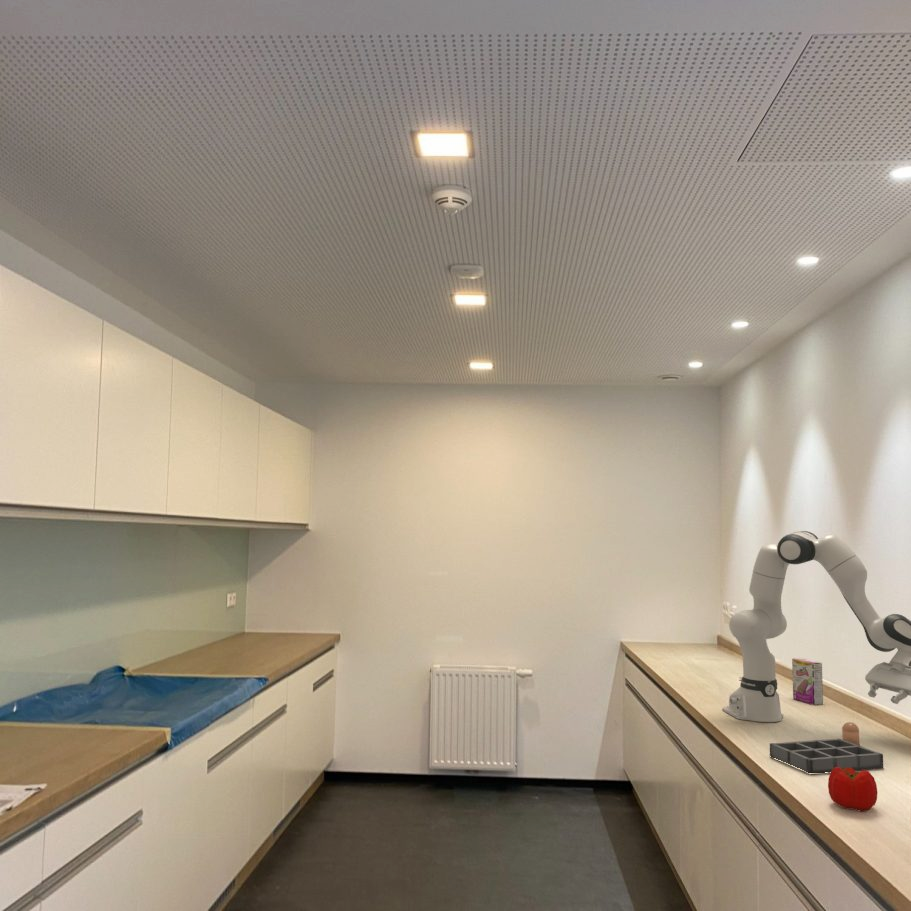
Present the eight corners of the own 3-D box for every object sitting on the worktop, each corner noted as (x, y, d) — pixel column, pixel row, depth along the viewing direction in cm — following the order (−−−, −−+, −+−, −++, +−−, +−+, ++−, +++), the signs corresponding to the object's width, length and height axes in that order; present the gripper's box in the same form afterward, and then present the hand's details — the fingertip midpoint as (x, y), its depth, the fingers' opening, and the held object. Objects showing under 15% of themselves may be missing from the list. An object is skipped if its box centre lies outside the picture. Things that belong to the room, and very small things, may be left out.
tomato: (882, 806, 197) (881, 768, 197) (869, 819, 188) (868, 779, 188) (837, 796, 204) (836, 759, 204) (822, 808, 195) (821, 770, 196)
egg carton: (769, 757, 238) (769, 743, 238) (839, 751, 244) (839, 738, 244) (809, 774, 221) (809, 759, 221) (883, 768, 228) (882, 754, 228)
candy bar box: (792, 699, 319) (791, 658, 320) (801, 698, 320) (800, 657, 322) (814, 705, 308) (813, 662, 310) (823, 704, 310) (822, 662, 312)
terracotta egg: (839, 746, 250) (838, 721, 250) (851, 745, 251) (851, 720, 252) (850, 751, 245) (849, 724, 246) (863, 750, 246) (862, 723, 247)
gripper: (874, 655, 266) (851, 685, 262) (925, 665, 246) (901, 698, 243) (886, 668, 266) (863, 699, 263) (937, 679, 247) (913, 713, 243)
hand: (881, 699), depth 253 cm, fingers open, 8 cm apart
